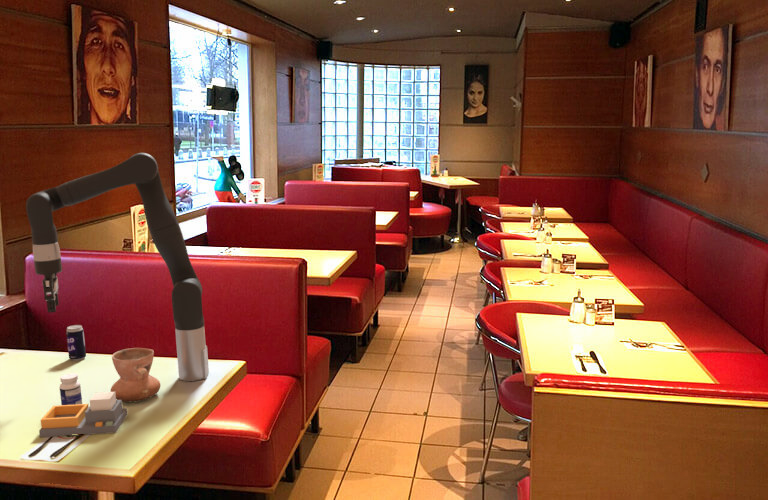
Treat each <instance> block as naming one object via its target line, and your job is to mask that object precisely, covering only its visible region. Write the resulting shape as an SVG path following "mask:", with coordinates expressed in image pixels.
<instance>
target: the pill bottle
mask: <svg viewBox="0 0 768 500" xmlns="http://www.w3.org/2000/svg"><path fill="white" fill-rule="evenodd" d="M59 378H60V379H59V380H60V384H59V394H60V395H59V396H60V403H61V405H76V404H83V397H82V395H83V394H82V389H81V388H82V387H81V382H80V381H79V380H78V379H79V376H78V373H73V372H70V373H65V374H63V375H61V376H60V377H59Z"/></svg>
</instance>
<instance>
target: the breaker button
mask: <svg viewBox="0 0 768 500" xmlns="http://www.w3.org/2000/svg"><path fill="white" fill-rule="evenodd" d="M115 405H116V394H115V392H111V391H104V392H95V393H93V396H91V398H90V399H89V406H90V409H91V411H99V410H112V409H113V408H114V406H115Z"/></svg>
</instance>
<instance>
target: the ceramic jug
mask: <svg viewBox="0 0 768 500" xmlns="http://www.w3.org/2000/svg"><path fill="white" fill-rule="evenodd" d="M154 355H155V352H154V349H150V348H145V347H144V348H143V347H132V348H129V347H128V348H125V349H121V350H118V351H116V352H114V353H113V354H112V355H111V359H112V364H113V366H114V369H115V371H116V373H117V375H118V376H119V377H120V378H119V379H118V380H116V381H115V382H114V383H113V384H112V386H111V387H110V392H115V394H116V400H122V403H135V402H143V401H145V400H148V399H150V398H153V397H154V396H155V395H156V394H158V393H159V391H160V389H161V382H160V381H159V379H158V378H157V377H154V376H153V375H152V374H151V375H150V371H151V369H152V364H153V362H154V357H155V356H154Z"/></svg>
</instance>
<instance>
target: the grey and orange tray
mask: <svg viewBox="0 0 768 500" xmlns="http://www.w3.org/2000/svg"><path fill="white" fill-rule="evenodd" d="M127 417H128V409H127V407H126V408H124V407H123V402H122V400H116V405H115V406H114V408H113V409H112V410H99V411H91V409H90V405H89V403H82V404H76V405H60V404H59V405H58V404H57V405H52V406H51V408H50V409H49V410H48V411H47V412H46V413H45V414H44V415H43V417H41V419H40V426H41V427H40V429H39V430H38V433H39V438H51V437H65V436H64V435H70V436H73V435H72V434H84V435H100V434H116V433H117V431H118V430H119V429H120V427H121V426H122V424H123V423H124V421H125V420H126V418H127Z"/></svg>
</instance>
